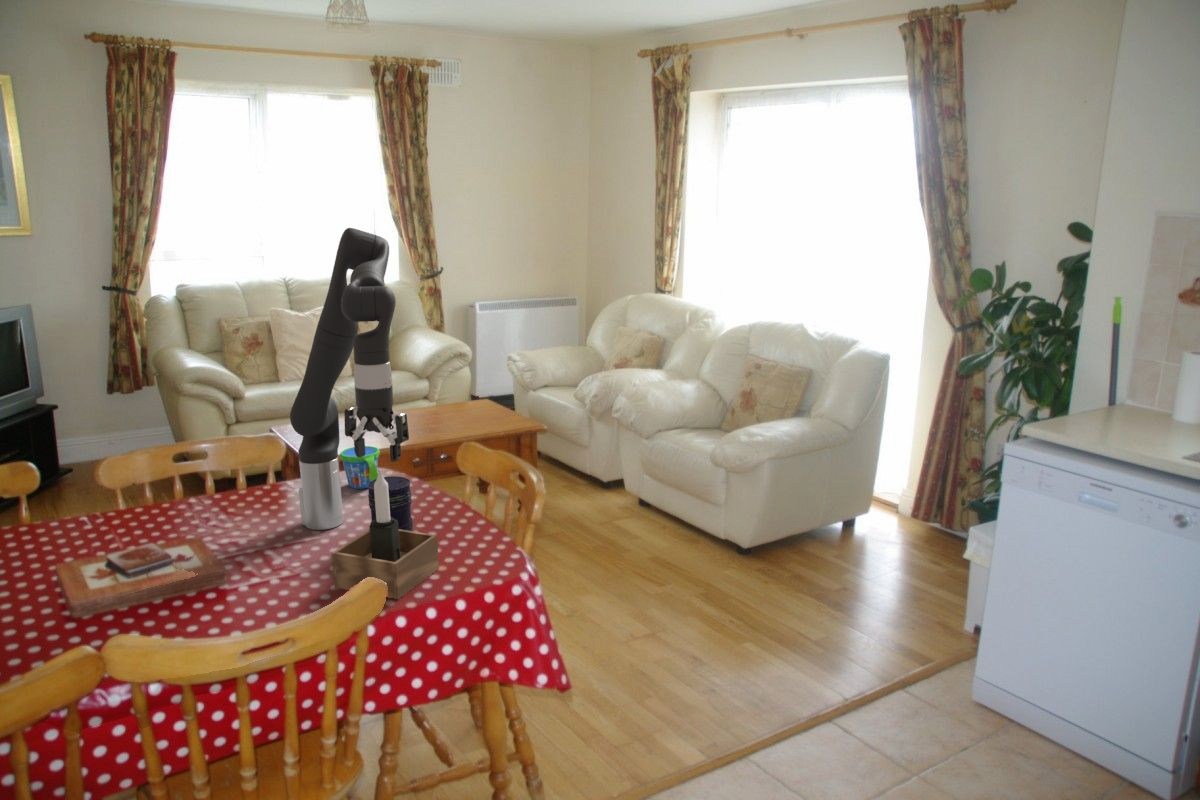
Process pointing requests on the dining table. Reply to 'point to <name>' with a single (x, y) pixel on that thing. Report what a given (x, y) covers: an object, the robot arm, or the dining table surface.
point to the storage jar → (395, 501)
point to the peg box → (387, 563)
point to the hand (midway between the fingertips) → (378, 458)
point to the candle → (384, 525)
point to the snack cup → (360, 466)
